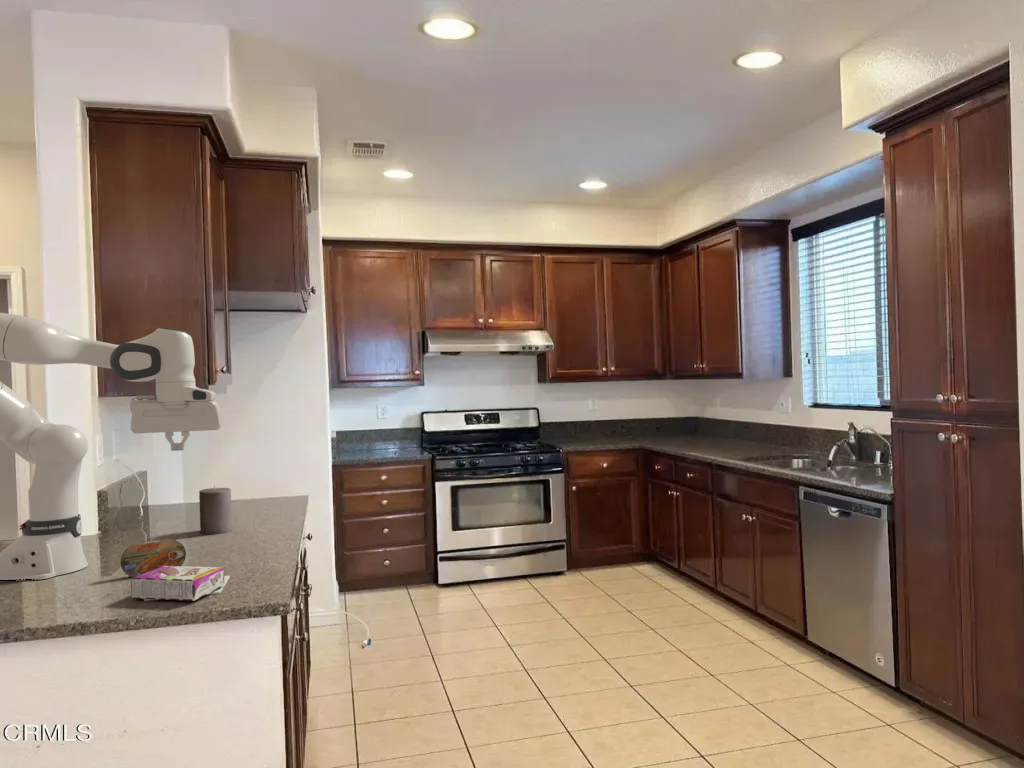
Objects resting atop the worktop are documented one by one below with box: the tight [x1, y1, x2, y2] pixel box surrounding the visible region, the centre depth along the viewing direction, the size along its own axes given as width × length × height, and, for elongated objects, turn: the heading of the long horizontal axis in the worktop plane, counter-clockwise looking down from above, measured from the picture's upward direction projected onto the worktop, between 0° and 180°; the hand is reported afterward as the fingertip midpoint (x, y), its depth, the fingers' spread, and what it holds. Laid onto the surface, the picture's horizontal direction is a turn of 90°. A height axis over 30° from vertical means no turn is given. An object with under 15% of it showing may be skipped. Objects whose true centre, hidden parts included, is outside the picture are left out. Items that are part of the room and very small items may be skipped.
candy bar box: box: [130, 565, 225, 602], centre depth 163 cm, size 11×5×16 cm
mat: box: [143, 574, 231, 602], centre depth 168 cm, size 16×14×1 cm
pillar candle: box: [198, 485, 233, 536], centre depth 232 cm, size 10×10×15 cm
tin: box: [120, 538, 187, 578], centre depth 182 cm, size 15×3×8 cm, turn 123°
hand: (178, 450), depth 174 cm, fingers closed
